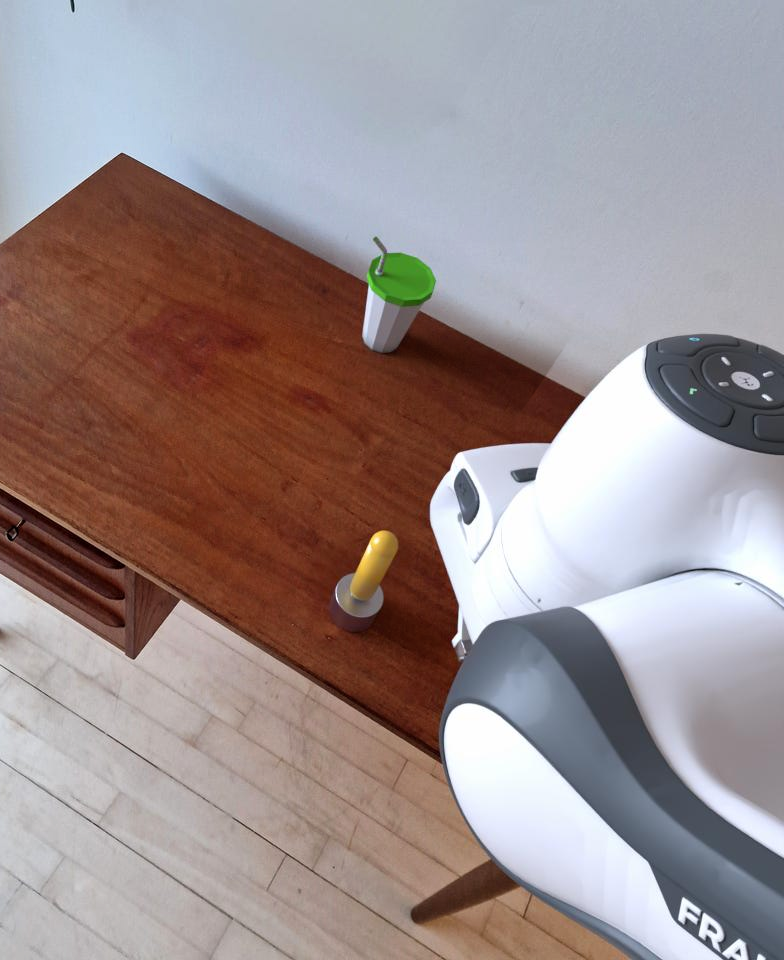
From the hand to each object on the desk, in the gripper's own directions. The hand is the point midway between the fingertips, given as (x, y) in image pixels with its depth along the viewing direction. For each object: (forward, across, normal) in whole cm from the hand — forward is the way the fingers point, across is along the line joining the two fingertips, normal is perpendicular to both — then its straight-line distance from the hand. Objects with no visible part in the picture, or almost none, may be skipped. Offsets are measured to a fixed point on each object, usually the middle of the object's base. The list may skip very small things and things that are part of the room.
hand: (474, 678), depth 54 cm
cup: (+23, +50, -14) cm, 57 cm away
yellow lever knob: (+23, +16, -1) cm, 28 cm away
